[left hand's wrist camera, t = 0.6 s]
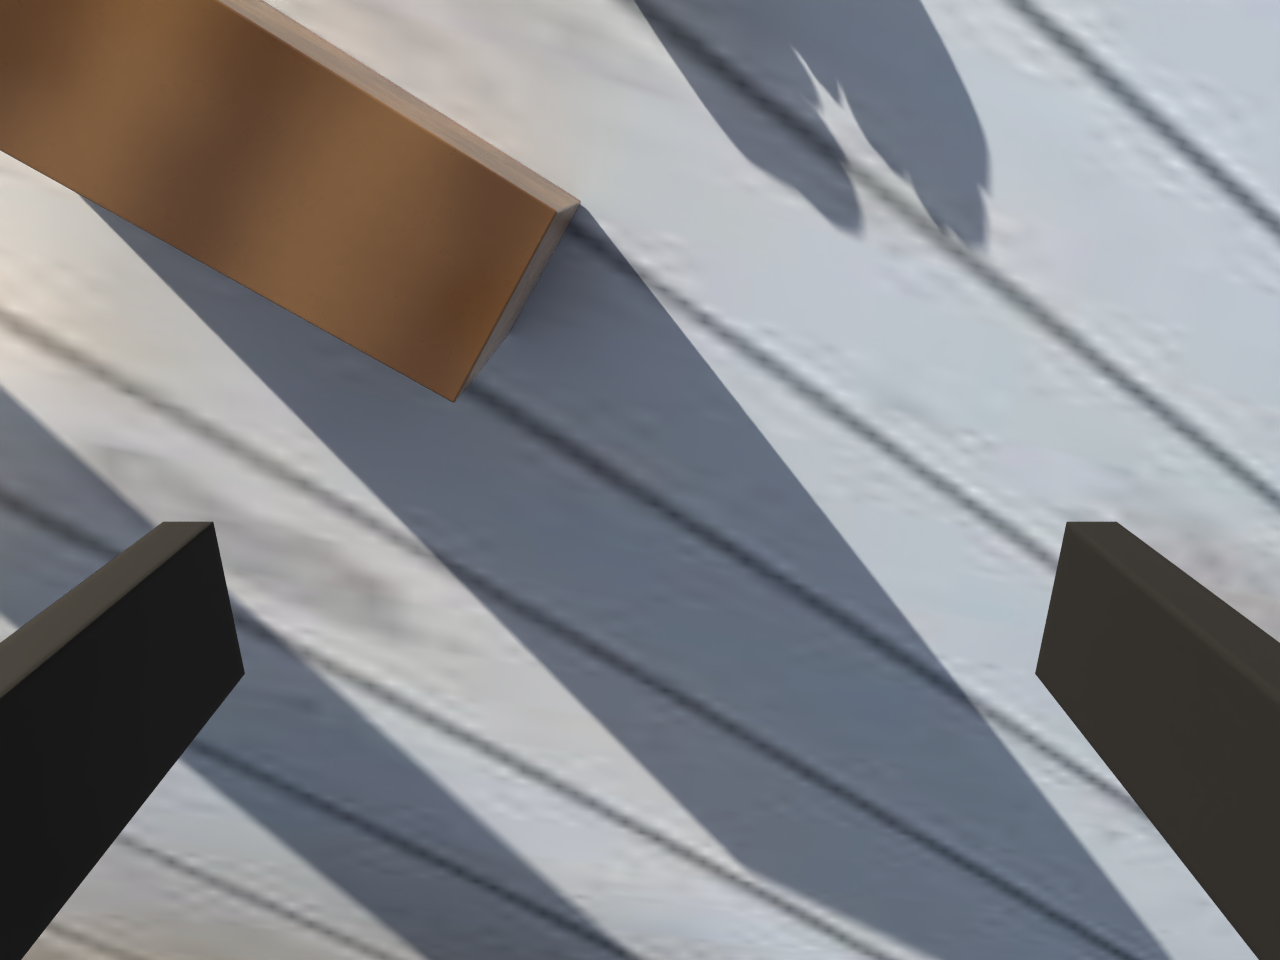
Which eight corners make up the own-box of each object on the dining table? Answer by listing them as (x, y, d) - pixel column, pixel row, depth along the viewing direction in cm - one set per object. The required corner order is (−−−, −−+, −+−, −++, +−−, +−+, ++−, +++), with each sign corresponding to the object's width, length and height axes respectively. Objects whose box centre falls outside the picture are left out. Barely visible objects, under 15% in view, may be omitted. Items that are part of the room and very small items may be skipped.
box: (581, 201, 32) (558, 211, 22) (507, 335, 34) (453, 403, 23) (-138, -252, 27) (-612, -518, 16) (-179, -65, 28) (-630, -200, 18)
